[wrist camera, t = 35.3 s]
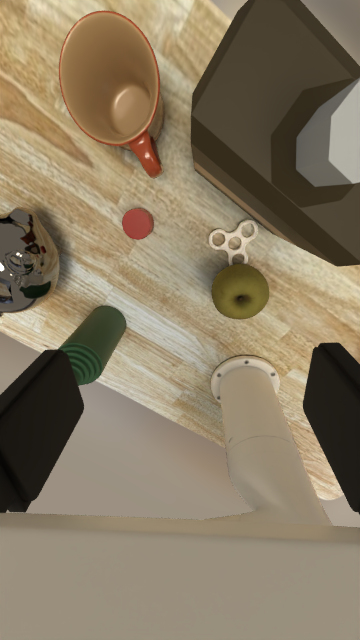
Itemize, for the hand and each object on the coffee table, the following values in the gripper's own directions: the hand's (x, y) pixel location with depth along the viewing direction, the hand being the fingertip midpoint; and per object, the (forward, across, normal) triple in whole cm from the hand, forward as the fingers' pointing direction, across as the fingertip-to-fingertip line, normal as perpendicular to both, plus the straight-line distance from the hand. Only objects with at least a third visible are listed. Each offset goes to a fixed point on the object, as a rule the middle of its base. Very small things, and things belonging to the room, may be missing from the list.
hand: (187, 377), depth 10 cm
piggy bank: (+31, +24, 0) cm, 39 cm away
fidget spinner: (+30, -5, 0) cm, 31 cm away
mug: (+31, +6, -14) cm, 34 cm away
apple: (+30, -6, +6) cm, 31 cm away
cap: (+28, +8, -3) cm, 29 cm away
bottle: (+31, -8, -8) cm, 33 cm away
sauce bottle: (+30, +16, +12) cm, 36 cm away
